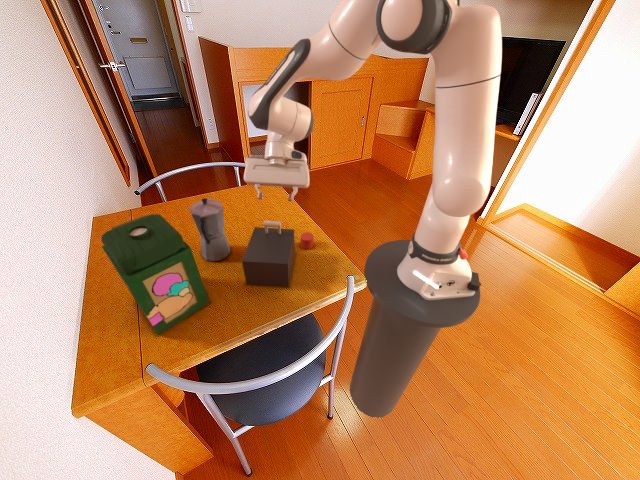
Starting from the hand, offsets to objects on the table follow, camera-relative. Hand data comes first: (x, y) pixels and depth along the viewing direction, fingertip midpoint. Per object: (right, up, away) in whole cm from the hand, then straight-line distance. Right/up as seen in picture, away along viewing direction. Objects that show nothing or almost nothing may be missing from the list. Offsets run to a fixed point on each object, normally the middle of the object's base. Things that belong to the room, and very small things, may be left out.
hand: (275, 200), depth 85 cm
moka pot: (-20, -17, +6) cm, 27 cm away
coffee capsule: (+9, -14, +11) cm, 20 cm away
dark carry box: (-1, -21, +2) cm, 21 cm away
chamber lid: (-1, -14, -4) cm, 15 cm away
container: (-26, -29, -9) cm, 40 cm away
